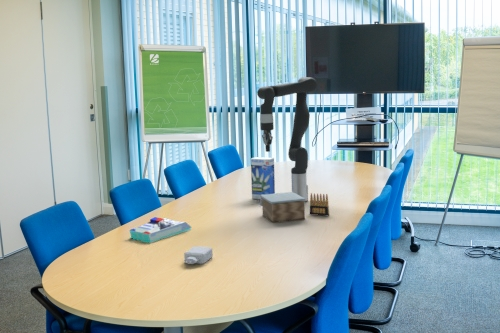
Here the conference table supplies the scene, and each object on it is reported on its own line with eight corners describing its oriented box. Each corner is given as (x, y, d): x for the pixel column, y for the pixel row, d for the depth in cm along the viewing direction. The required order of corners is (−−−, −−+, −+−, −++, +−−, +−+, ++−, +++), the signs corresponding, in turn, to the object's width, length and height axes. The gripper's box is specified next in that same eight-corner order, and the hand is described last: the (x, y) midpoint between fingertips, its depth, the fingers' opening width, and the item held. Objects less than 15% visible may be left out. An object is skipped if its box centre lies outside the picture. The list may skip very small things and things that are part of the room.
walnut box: (293, 212, 327) (292, 194, 325) (304, 219, 310) (304, 201, 308) (262, 215, 322) (262, 197, 320) (273, 222, 305) (272, 204, 303)
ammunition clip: (329, 215, 317) (328, 193, 315) (328, 215, 315) (327, 194, 313) (310, 213, 322) (310, 192, 320) (309, 214, 320) (309, 193, 318)
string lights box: (251, 198, 365) (250, 158, 361) (257, 196, 372) (255, 156, 368) (270, 200, 359) (269, 159, 355) (275, 197, 366) (274, 157, 362)
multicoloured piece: (126, 239, 286) (125, 222, 284) (170, 225, 309) (169, 209, 307) (149, 244, 275) (147, 226, 274) (193, 230, 298) (192, 213, 297)
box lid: (292, 202, 328) (292, 191, 327) (305, 209, 309) (305, 198, 308) (260, 205, 322) (260, 195, 321) (271, 213, 304) (271, 202, 303)
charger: (178, 267, 240) (193, 256, 254) (198, 269, 237) (212, 257, 251) (177, 256, 239) (193, 246, 253) (197, 258, 236) (212, 247, 250)
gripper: (276, 122, 328) (277, 152, 331) (269, 120, 341) (270, 149, 344) (264, 122, 326) (265, 153, 329) (257, 121, 339) (258, 150, 342)
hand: (267, 151), depth 336 cm, fingers closed
